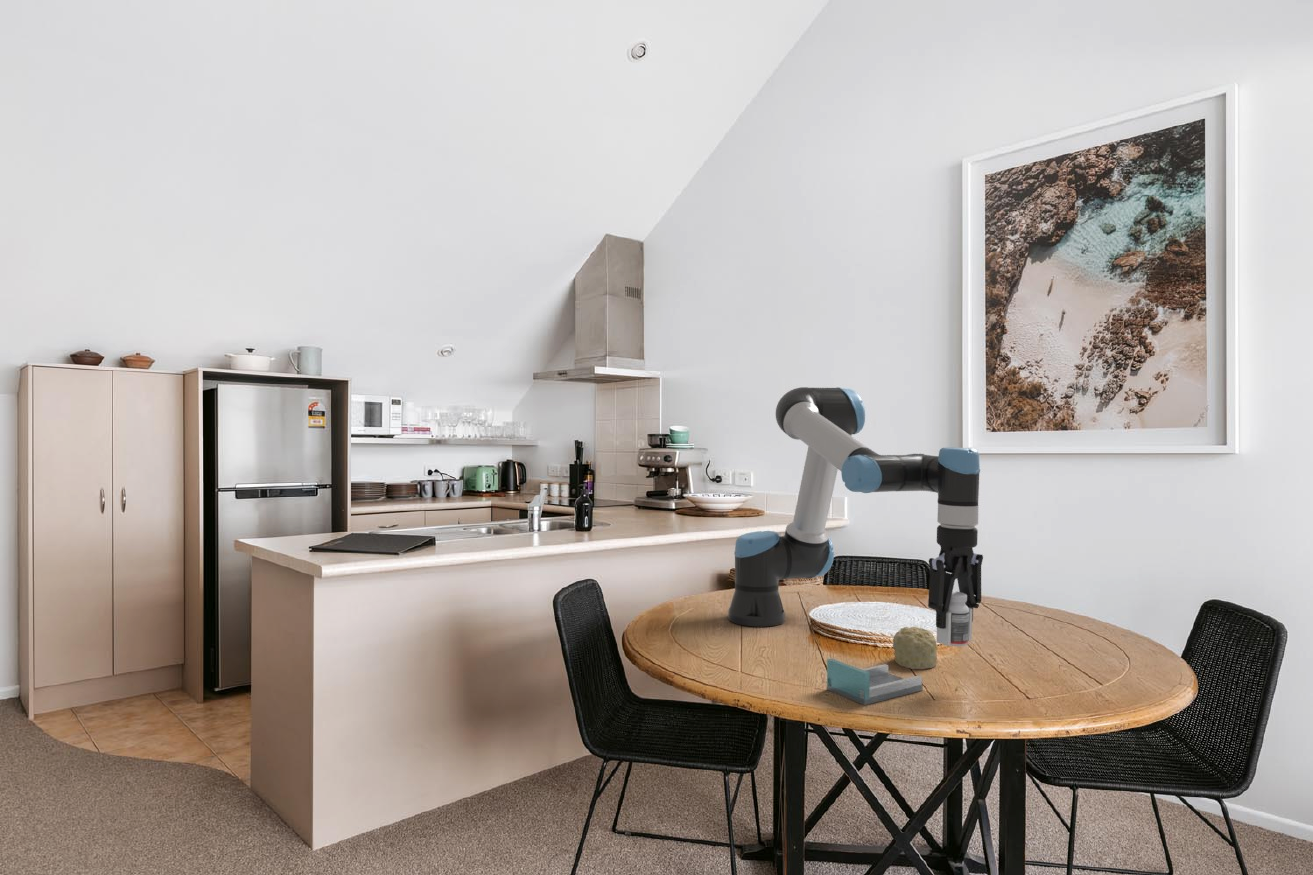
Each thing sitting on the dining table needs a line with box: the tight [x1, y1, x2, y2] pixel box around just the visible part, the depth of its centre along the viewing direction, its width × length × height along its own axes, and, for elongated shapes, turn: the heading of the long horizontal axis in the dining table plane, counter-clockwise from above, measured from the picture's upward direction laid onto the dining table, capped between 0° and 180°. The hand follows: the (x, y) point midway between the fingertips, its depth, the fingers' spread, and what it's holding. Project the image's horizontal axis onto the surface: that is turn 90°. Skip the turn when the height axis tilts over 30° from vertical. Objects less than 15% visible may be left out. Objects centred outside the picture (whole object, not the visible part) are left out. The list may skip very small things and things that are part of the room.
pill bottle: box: [948, 590, 969, 648], centre depth 152 cm, size 6×6×10 cm
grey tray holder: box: [826, 658, 924, 706], centre depth 152 cm, size 16×10×6 cm, turn 121°
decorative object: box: [892, 626, 938, 670], centre depth 169 cm, size 9×10×10 cm
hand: (954, 641), depth 152 cm, fingers closed on pill bottle, 6 cm apart
